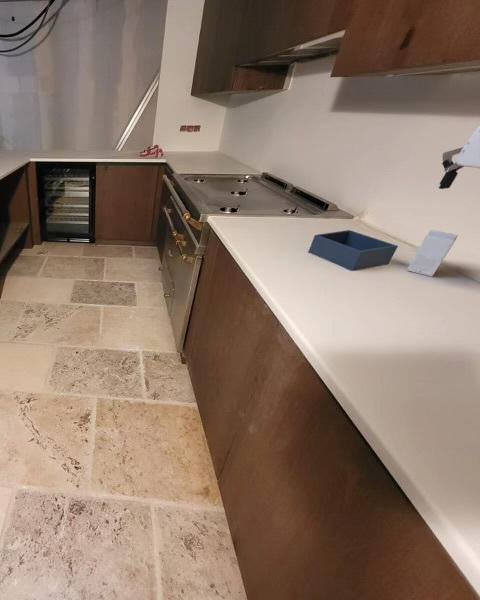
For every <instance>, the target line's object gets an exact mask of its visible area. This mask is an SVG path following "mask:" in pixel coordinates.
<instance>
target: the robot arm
mask: <svg viewBox="0 0 480 600" xmlns="http://www.w3.org/2000/svg"><path fill="white" fill-rule="evenodd" d="M454 156H457V157H456V159H455V162H454V161H453V157H454ZM441 164H442V167H443V169H444V173H445V174H444V175H443V176H442V178H441V181H440V182H439V186H438V189H439V190H445V189H450V188H451V187H452V184H453V183H454V182H455V179H456V178H457V176H458V174H459V173H458V171H459V170H461V169H463V168H464V167H465V168H474V169H480V125H479V126H478V127H477V128H476V129H475V130H474V132H473V133H472V134H471V136H470V137H469V138H468V140H467V141H466V142H465V144H464V145H463V146H462V147H459V148H456V149H452V150H449V151H448V150H447V151H444V152H443V153H442V163H441Z"/></svg>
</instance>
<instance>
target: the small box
mask: <svg viewBox="0 0 480 600" xmlns="http://www.w3.org/2000/svg"><path fill="white" fill-rule="evenodd" d="M458 236H459V235H458V234H455V233H452V232H451V233H450V232H446V231H440V230H435V229H430V230H429V232H428V234H427V235H425V237H424V239H423V241H422V242H421V244H420V246H419V248H418V249H417V251H416V253H415V254H414V256H413V258H412V259H411V262H410V263H409V265H408V267H407V269H406V271H408V272H413V273H417V274H419V275H424V276H428V277H433V276H434V275H435V273H436V272H437V270H438V269H439V267H440V266H441V264H442V263H443V261H444V259H445V258H446V256H447V254H448V253H449V252H450V250H451V248H452V247H453V245H454V244H455V242H456V240H457V239H458Z"/></svg>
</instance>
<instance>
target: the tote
mask: <svg viewBox="0 0 480 600" xmlns="http://www.w3.org/2000/svg"><path fill="white" fill-rule="evenodd" d="M398 248H399V245H397V244H394V243H391V242H388V241H384V240H381V239H379V238H375V237H372V236H369V235H366V234H362V233H359V232H356V231H354V230H350V229H346V230H340V231H332V232H326V233H325V232H324V233H319V234H315V235H314V237H313V239H312V241H311V243H310V247H309V249H308V251H307V252H308V253H310V254H313V255H315V256H317V257H319V258H322V259H323V260H325V261H328V262H331V263H334V264H336V265H338V266H341V267H343V268H345V269H348V270H350V271H353V272H354V271H358V270H363V269H368V268H374V267H379V266H384V265H389V264H390V262H391V260H392V259H393V257H394V254H395V252H396V251H397V249H398Z"/></svg>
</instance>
